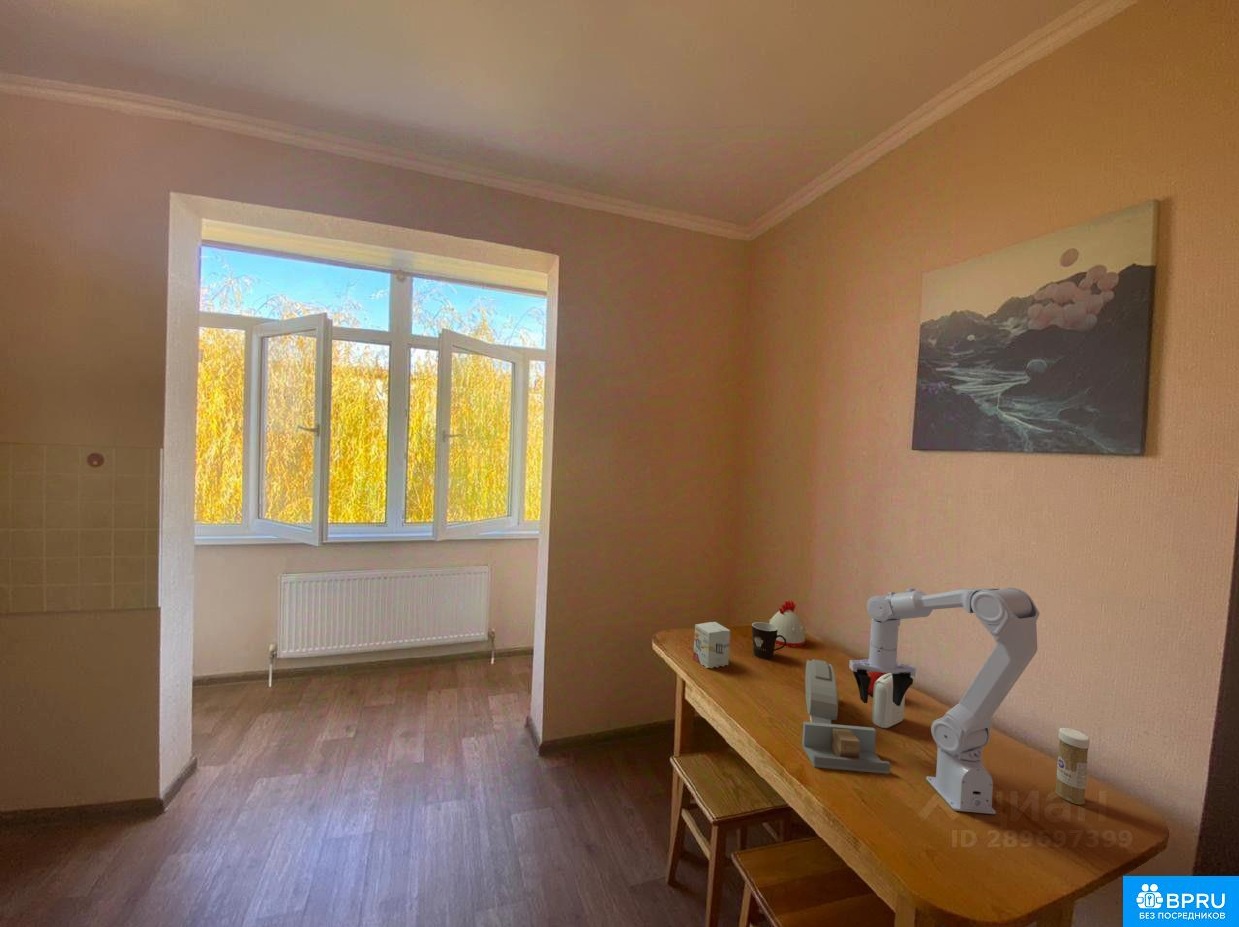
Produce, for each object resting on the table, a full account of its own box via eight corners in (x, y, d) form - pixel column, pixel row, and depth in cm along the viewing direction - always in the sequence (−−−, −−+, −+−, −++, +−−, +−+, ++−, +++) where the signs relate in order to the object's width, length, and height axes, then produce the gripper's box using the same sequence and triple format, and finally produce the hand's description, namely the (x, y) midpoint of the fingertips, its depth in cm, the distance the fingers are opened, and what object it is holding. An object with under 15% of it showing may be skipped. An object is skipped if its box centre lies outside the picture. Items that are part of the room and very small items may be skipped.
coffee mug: (745, 651, 165) (747, 622, 165) (766, 649, 168) (768, 621, 168) (765, 665, 154) (766, 634, 154) (787, 663, 157) (788, 633, 157)
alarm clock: (836, 738, 114) (839, 685, 114) (809, 731, 116) (812, 680, 116) (827, 695, 136) (829, 651, 136) (804, 690, 138) (807, 647, 138)
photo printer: (889, 712, 128) (892, 667, 128) (906, 720, 124) (908, 674, 124) (868, 722, 122) (871, 675, 122) (885, 731, 118) (888, 682, 118)
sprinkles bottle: (1049, 790, 99) (1052, 726, 99) (1068, 790, 99) (1072, 726, 99) (1072, 806, 94) (1076, 739, 94) (1092, 805, 95) (1096, 739, 95)
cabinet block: (859, 765, 103) (860, 742, 103) (840, 763, 103) (841, 740, 103) (849, 751, 107) (850, 729, 107) (831, 750, 108) (832, 728, 108)
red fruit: (879, 688, 142) (882, 639, 142) (898, 700, 135) (902, 648, 135) (858, 690, 140) (861, 640, 140) (877, 702, 133) (880, 649, 133)
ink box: (692, 658, 156) (694, 623, 156) (713, 655, 160) (715, 620, 160) (707, 669, 148) (709, 632, 148) (729, 666, 152) (731, 629, 152)
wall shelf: (889, 773, 101) (891, 747, 101) (814, 766, 102) (815, 741, 102) (872, 751, 109) (873, 727, 109) (802, 745, 110) (803, 721, 110)
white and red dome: (812, 644, 176) (815, 604, 176) (787, 650, 169) (790, 608, 169) (782, 631, 188) (785, 594, 188) (758, 636, 181) (760, 597, 181)
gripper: (905, 641, 116) (901, 696, 116) (845, 637, 117) (842, 691, 117) (922, 653, 109) (918, 711, 109) (858, 648, 110) (854, 706, 110)
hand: (879, 702), depth 112 cm, fingers open, 7 cm apart
